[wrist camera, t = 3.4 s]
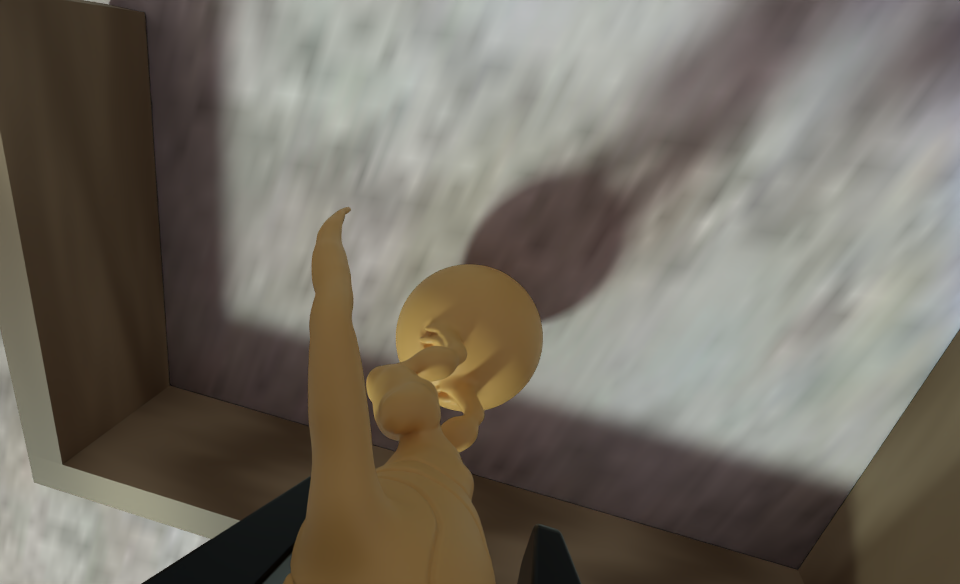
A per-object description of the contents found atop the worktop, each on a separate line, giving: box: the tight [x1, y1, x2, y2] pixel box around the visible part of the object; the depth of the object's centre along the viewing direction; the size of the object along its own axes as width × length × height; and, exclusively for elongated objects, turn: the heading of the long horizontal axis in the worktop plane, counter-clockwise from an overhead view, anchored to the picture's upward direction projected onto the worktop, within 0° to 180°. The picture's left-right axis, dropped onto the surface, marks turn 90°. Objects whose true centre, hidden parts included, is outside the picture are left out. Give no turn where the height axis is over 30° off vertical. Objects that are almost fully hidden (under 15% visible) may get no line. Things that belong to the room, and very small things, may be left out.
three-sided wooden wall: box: [0, 0, 960, 584], centre depth 14 cm, size 26×14×4 cm, turn 79°
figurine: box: [283, 207, 543, 584], centre depth 10 cm, size 8×6×12 cm
